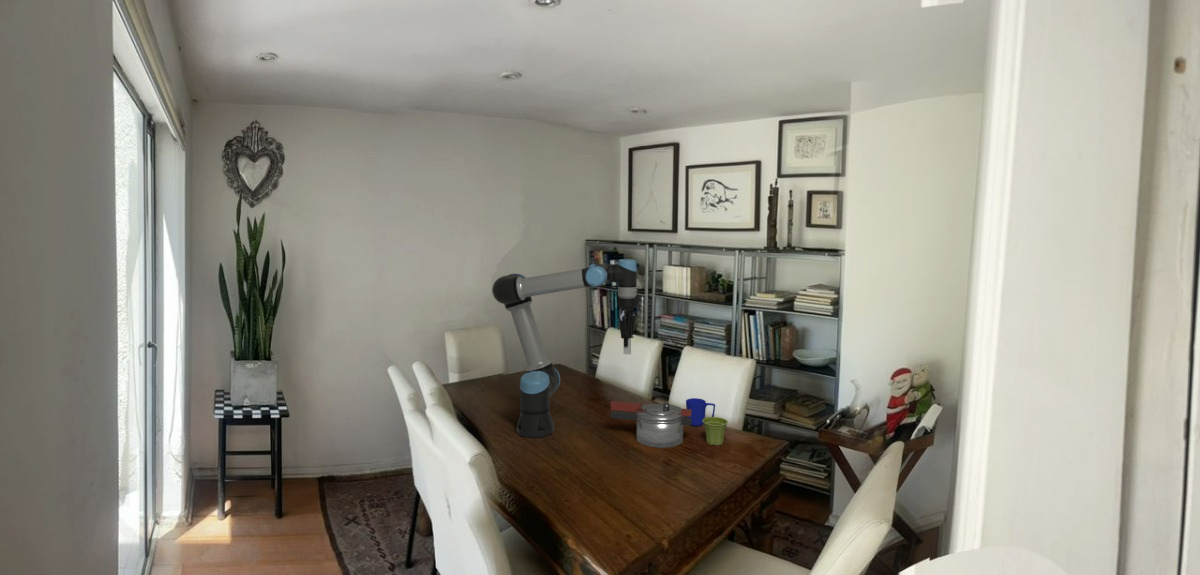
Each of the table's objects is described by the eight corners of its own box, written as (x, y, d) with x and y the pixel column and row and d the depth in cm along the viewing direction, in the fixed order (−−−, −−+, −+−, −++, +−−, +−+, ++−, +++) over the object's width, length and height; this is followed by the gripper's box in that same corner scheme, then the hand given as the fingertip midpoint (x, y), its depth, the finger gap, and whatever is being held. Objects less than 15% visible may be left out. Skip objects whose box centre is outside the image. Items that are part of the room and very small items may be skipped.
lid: (605, 416, 221) (605, 406, 220) (617, 402, 238) (617, 392, 238) (687, 424, 212) (687, 413, 211) (694, 408, 229) (694, 398, 229)
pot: (605, 442, 222) (605, 416, 221) (617, 426, 240) (617, 402, 238) (687, 451, 213) (687, 424, 212) (694, 433, 230) (694, 409, 229)
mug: (714, 428, 236) (715, 405, 235) (685, 426, 238) (685, 403, 237) (714, 422, 244) (715, 399, 243) (686, 420, 246) (686, 397, 245)
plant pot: (712, 449, 214) (713, 426, 214) (697, 440, 223) (697, 419, 222) (732, 444, 219) (732, 422, 218) (716, 436, 227) (716, 415, 226)
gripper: (629, 299, 227) (629, 358, 230) (642, 295, 239) (641, 351, 241) (612, 298, 231) (612, 356, 233) (625, 294, 242) (625, 350, 245)
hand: (627, 353), depth 237 cm, fingers closed
